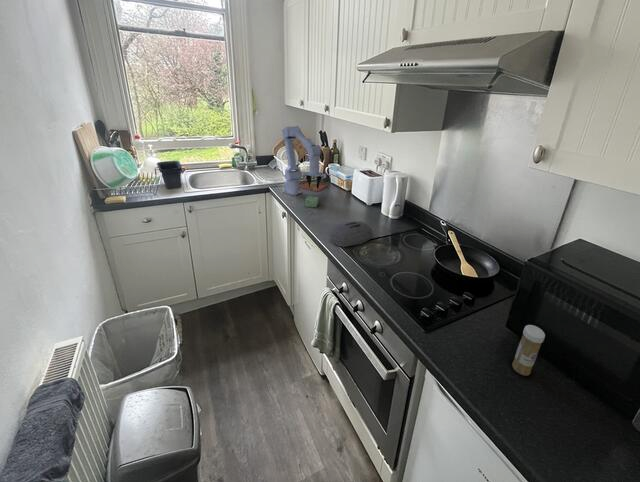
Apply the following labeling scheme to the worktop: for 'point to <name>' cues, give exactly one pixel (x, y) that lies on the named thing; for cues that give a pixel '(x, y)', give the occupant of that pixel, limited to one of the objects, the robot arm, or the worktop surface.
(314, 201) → the sage block
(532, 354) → the sprinkles bottle
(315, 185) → the maple cube
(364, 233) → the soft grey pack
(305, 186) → the mat
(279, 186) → the worktop surface
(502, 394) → the worktop surface
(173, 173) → the storage bin
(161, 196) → the worktop surface
